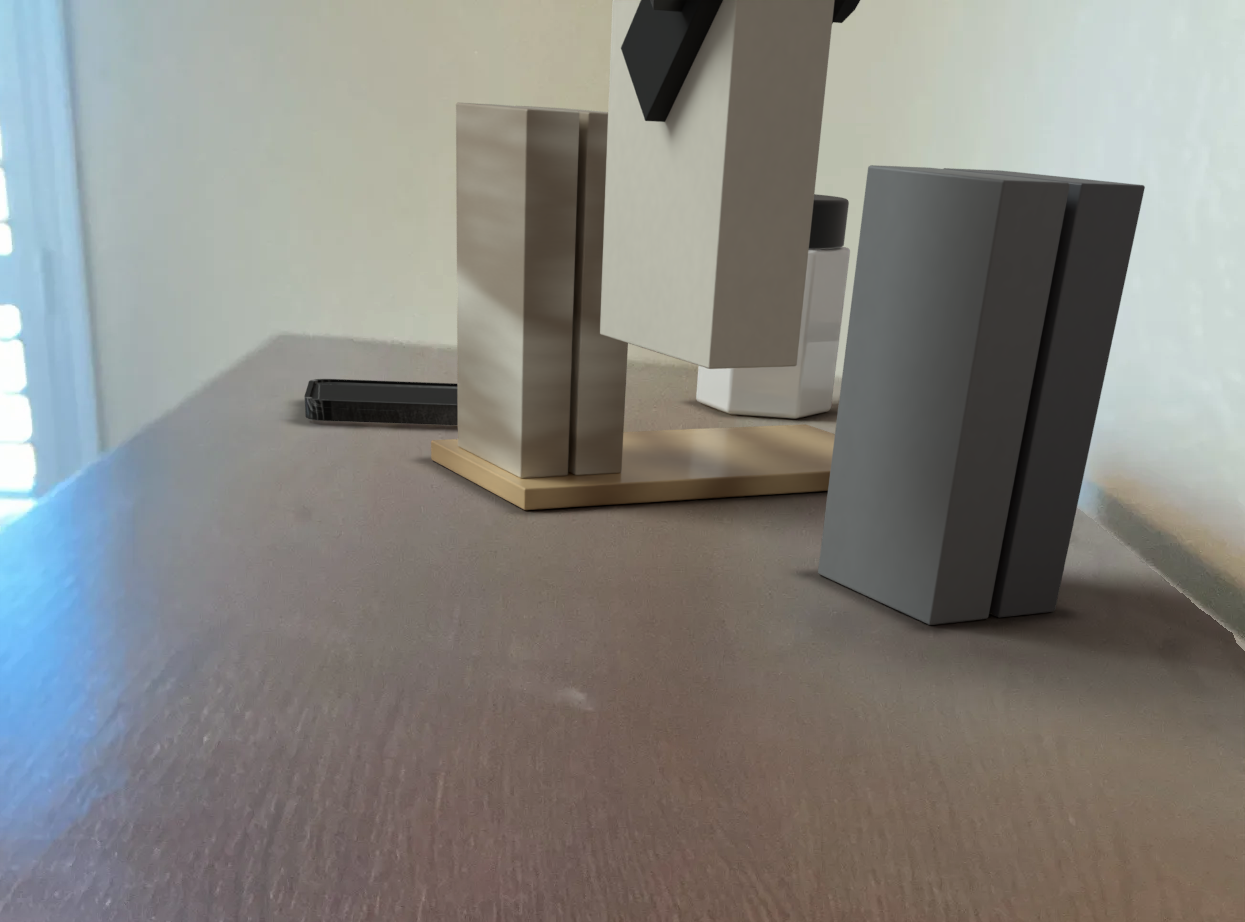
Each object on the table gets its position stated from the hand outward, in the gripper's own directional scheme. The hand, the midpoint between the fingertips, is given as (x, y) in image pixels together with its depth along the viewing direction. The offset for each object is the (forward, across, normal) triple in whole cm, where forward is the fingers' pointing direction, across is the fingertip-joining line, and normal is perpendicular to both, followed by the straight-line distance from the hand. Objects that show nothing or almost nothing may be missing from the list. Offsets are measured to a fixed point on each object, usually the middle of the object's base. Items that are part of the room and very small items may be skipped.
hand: (699, 87), depth 50 cm
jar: (+41, +30, +16) cm, 53 cm away
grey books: (+12, +12, -13) cm, 21 cm away
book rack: (+28, +14, +4) cm, 32 cm away
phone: (+41, +7, +17) cm, 45 cm away
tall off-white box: (+5, 0, -6) cm, 8 cm away
